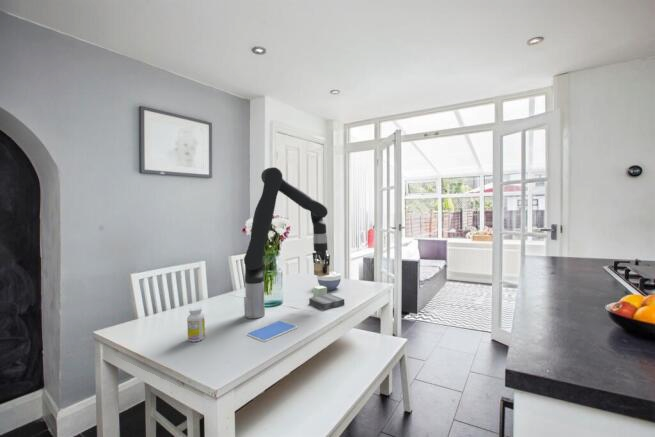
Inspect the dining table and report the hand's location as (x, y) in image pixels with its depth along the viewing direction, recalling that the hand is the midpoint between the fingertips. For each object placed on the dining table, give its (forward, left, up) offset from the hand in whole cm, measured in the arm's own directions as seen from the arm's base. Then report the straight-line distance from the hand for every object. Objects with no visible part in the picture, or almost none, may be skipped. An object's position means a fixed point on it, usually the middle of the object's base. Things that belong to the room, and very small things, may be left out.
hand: (321, 272), depth 175 cm
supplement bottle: (-66, -4, -19) cm, 69 cm away
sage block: (+9, +15, -19) cm, 26 cm away
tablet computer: (-37, -16, -19) cm, 45 cm away
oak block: (0, 0, -1) cm, 1 cm away
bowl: (+25, +28, -19) cm, 42 cm away
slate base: (+4, +1, -18) cm, 19 cm away
